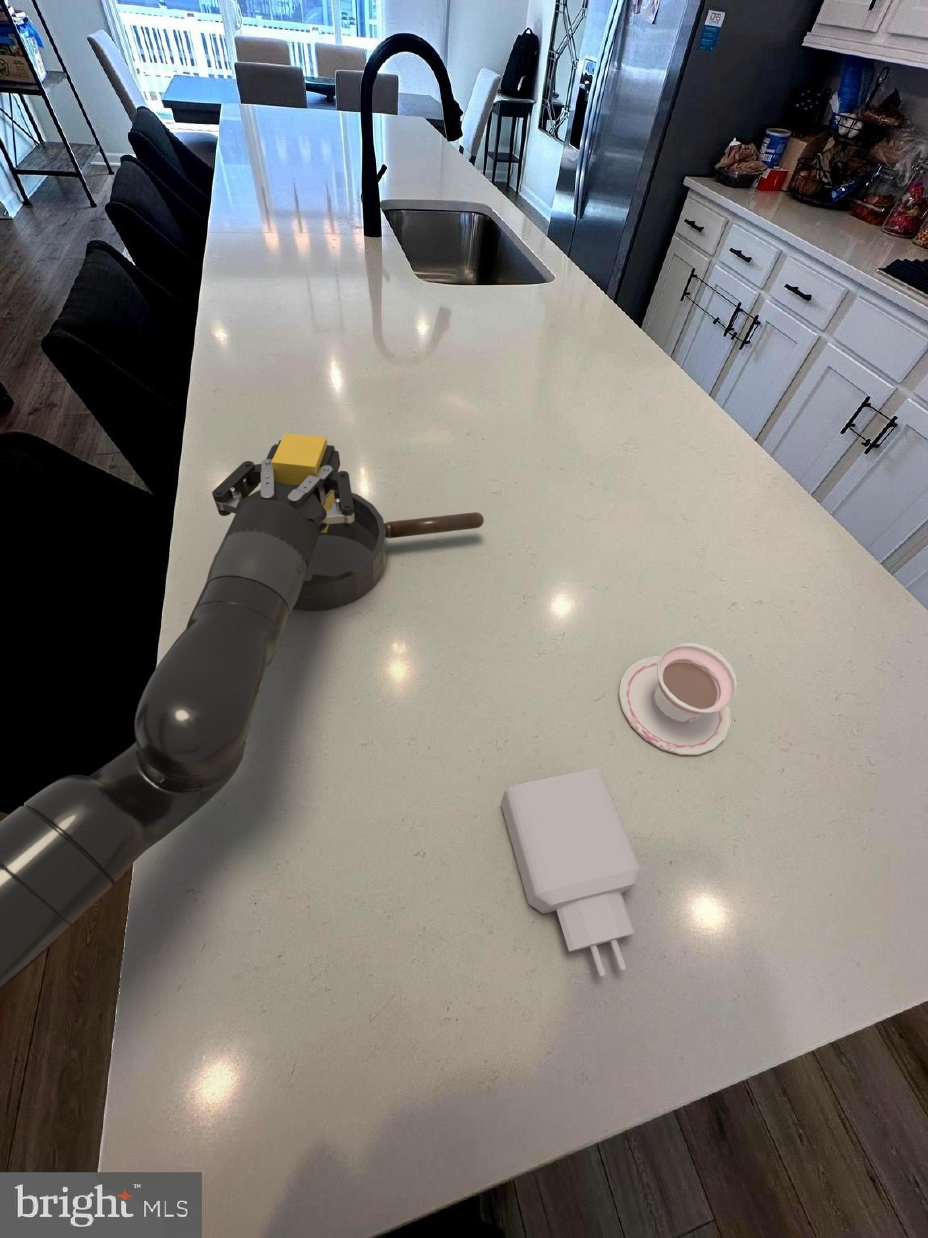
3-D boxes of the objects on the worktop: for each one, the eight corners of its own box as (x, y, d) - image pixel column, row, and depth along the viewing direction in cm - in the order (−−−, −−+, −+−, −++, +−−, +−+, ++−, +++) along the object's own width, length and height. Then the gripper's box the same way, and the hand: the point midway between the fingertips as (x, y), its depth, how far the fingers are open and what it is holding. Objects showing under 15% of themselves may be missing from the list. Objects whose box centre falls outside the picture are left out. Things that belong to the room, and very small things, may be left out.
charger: (550, 992, 44) (499, 804, 52) (656, 962, 45) (590, 785, 54) (563, 987, 40) (506, 786, 48) (678, 954, 42) (603, 766, 50)
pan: (250, 620, 63) (241, 594, 59) (247, 520, 72) (239, 493, 69) (396, 600, 66) (396, 574, 63) (375, 507, 76) (374, 480, 72)
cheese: (326, 533, 62) (315, 466, 55) (286, 529, 62) (270, 461, 55) (335, 504, 65) (326, 437, 58) (298, 500, 65) (284, 432, 58)
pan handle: (383, 542, 68) (382, 530, 67) (380, 531, 70) (379, 519, 68) (484, 530, 71) (486, 518, 70) (480, 519, 72) (482, 508, 71)
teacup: (695, 780, 55) (722, 754, 50) (596, 703, 60) (613, 673, 55) (747, 705, 61) (777, 675, 56) (654, 640, 66) (674, 607, 61)
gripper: (194, 584, 52) (250, 471, 63) (346, 600, 52) (377, 484, 63) (167, 524, 46) (233, 410, 57) (338, 542, 47) (373, 425, 57)
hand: (308, 450), depth 60 cm, fingers closed on cheese, 4 cm apart
